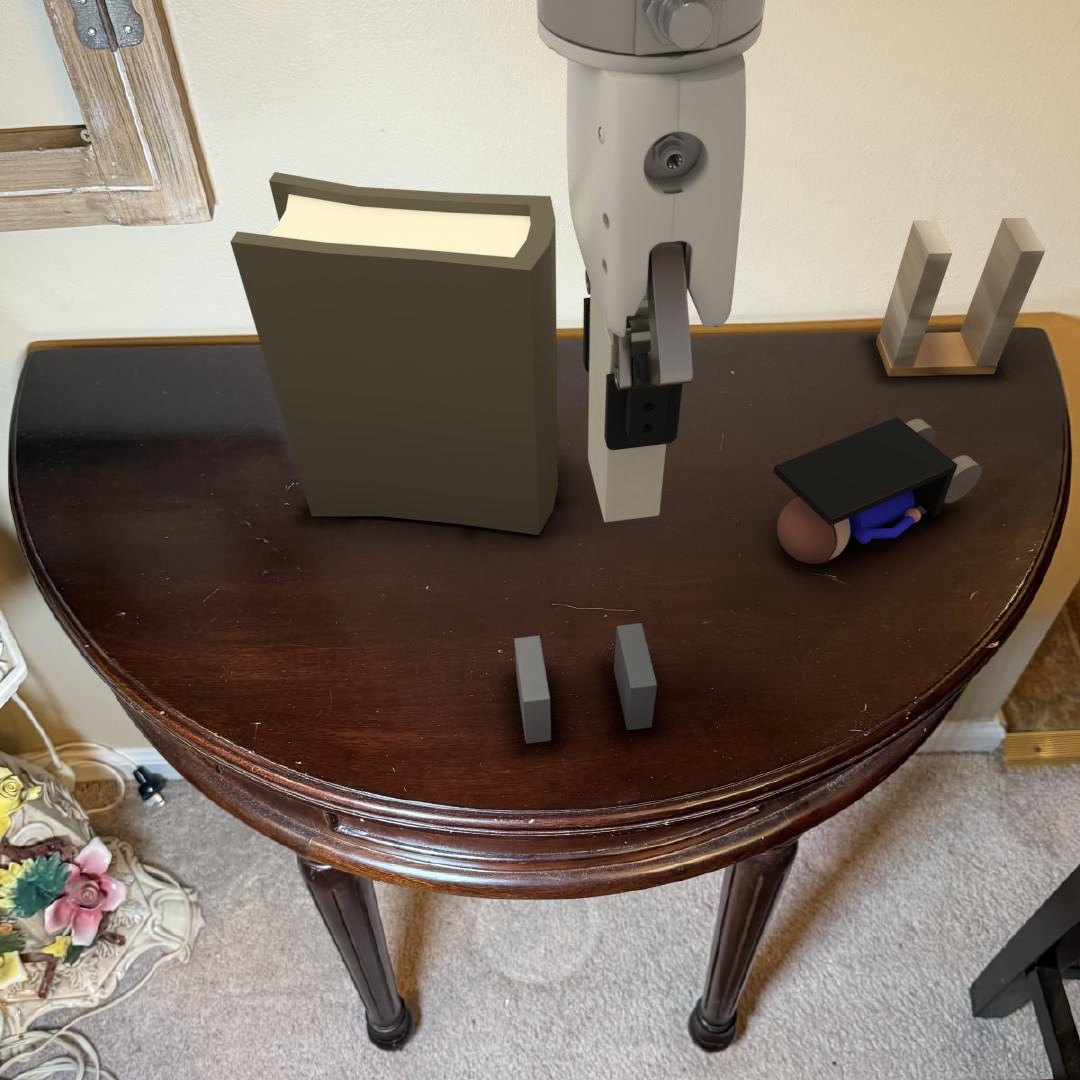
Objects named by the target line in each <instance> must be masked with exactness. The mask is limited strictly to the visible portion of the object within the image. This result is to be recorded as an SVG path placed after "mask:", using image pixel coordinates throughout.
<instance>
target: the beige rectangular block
mask: <svg viewBox="0 0 1080 1080" xmlns="http://www.w3.org/2000/svg"><path fill="white" fill-rule="evenodd" d="M589 297H590V356H589V372H588V423H587V424H588V428H587V429H588V431H587V433H588V434H587V437H588V438H587V460H588V464H589V469H590V472H591V476H592V480H593V484H594V487H595V492H596V495H597V499H598V503H599V507H600V511H601V514H602V515H601V516H602V519H603V522H604V523H610V522H612V523H613V522H618V521H620V522H621V521H625V520H626V521H627V520H634V519H641V518H643V519H644V518H650V517H657V516H660V513H661V503H662V492H663V483H664V482H663V481H664V472H665V462H666V461H665V460H666V453H667V452H666V451H667V444H662V445H653V446H645V447H637V448H629V449H621V450H610V449H608V448H607V446H606V442H605V438H604V432H605V400H606V374H612V373H614V347H613V332H612V331H611V330H609V329H608V328H607V327H606V326H605V324H604V322H603V319H602V317H601V314H600V311H599V308H598V305H597V302H596V299H595V296H594V293H593V290H592V287H591V288H590V295H589ZM640 307H648V300H643V301H642V303H641V305H640V306H639V308H640ZM631 334H632V357H633V356H635V355H636V354H637V353H644V352H650V350H651V335H650V331H648V332H640V333H631Z"/></svg>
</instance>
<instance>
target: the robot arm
mask: <svg viewBox="0 0 1080 1080" xmlns="http://www.w3.org/2000/svg"><path fill="white" fill-rule="evenodd" d="M765 6H766V0H536V23H537V24H536V26H537V34H538V36H539V39H540V40H541V42H543V43H544V45H545V46H546V47H547V48H548V49H549V50H551V51H554V52H555V53H556V54H557V55H558V56H561V57H563V58H564V59H566V60H567V61H566V62H567V63H566V65H567V66H566V166H567V167H566V169H567V186H568V188H567V190H568V200H569V209H570V217H571V221H572V226H573V229H574V233H575V237H576V241H577V244H578V247H579V251H580V255H581V258H582V260H583V264H584V267H585V272H584V273H585V274H584V276H585V277H584V278H585V279H584V280H585V286H586V292H587V295H589V297H583V314H582V315H583V316H582V317H583V321H582V323H583V324H582V326H583V328H582V330H583V331H582V337H583V338H582V344H583V345H582V354H583V355H582V362H583V366H584V369H585V371H586V372H587V373H589V356H590V288H591V287H592V290H593V293H594V296H595V299H596V302H597V305H598V308H599V311H600V314H601V317H602V319H603V322H604V324H605V326H606V327H607V328H608V329H609V330H611V331H612V332H613V347H614V373H612V374H606V400H605V432H604V438H605V442H606V446H607V448H608V449H610V450H621V449H629V448H637V447H645V446H653V445H662V444H666V445H669V444H671V443H673V442H675V441H676V439H677V437H678V431H679V430H678V429H679V421H680V412H681V404H682V403H681V402H682V393H683V385H684V384H691V383H692V382H693V377H694V376H693V375H694V369H693V355H692V342H691V329H690V318H689V317H690V315H689V301H688V293H689V296H690V298H691V300H692V303H693V305H694V308H695V310H696V312H697V315H698V317H699V320H700V322H701V325H702V327H703V328H709V327H714V328H719V327H723V326H724V325H725V323H726V322H727V321H728V319H729V317H730V315H731V311H732V306H733V297H734V289H735V279H736V270H737V259H738V249H739V248H738V247H739V239H740V238H739V237H740V227H741V226H740V225H741V214H742V203H743V190H744V189H743V188H744V176H745V160H746V159H745V158H746V137H747V135H746V133H747V130H746V128H747V81H746V80H747V79H746V77H747V76H746V62H745V57H744V53H745V52H747V51H749V49H751V48H752V47H753V46H754V45H755V44H756V43H757V41H758V39H759V38H760V36H761V33H762V29H763V28H762V27H763V20H764V13H765ZM643 300H648V307H640V308H639V306H640V305H641V303H642V301H643ZM648 331H650V335H651V350H650V352H644V353H637V354H636V355H635V356H633V357H632V334H631V333H640V332H648Z"/></svg>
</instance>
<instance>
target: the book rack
mask: <svg viewBox="0 0 1080 1080" xmlns="http://www.w3.org/2000/svg"><path fill="white" fill-rule="evenodd" d="M1045 253H1046V249H1045V247H1044V246H1043V244H1042V242H1041V241H1040V239H1039V238H1038V236H1037V234H1036V233H1035V231H1034V230H1033V228H1032V226H1031V224H1030V222H1028V220H1027V218H1026V217H1003V218H1002V219H1001V221H1000V224H999V227H998V230H997V232H996V235H995V238H994V240H993V243H992V245H991V248H990V251H989V253H988V256H987V259H986V262H985V264H984V267H983V270H982V272H981V274H980V277H979V280H978V282H977V285H976V288H975V290H974V294H973V296H972V299H971V302H970V304H969V307H968V310H967V312H966V315H965V317H964V320H963V323H962V326H961V328H960V331H955V332H954V331H951V332H950V331H949V332H947V331H946V332H926V331H927V328H928V325H929V323H930V320H931V317H932V314H933V310H934V308H935V305H936V302H937V299H938V296H939V293H940V290H941V287H942V284H943V281H944V279H945V276H946V273H947V270H948V267H949V264H950V261H951V258H952V255H953V251H952V249H951V247H950V244H949V243H948V241H947V239H946V237H945V235H944V233H943V232H942V230H941V227H940V225H939V223H938V222H937V220H936V219H922V220H920V219H919V220H918V219H917V220H913V221H912V223H911V227H910V230H909V233H908V237H907V241H906V243H905V247H904V251H903V253H902V257H901V259H900V260H901V261H900V264H899V267H898V270H897V273H896V276H895V281H894V283H893V287H892V290H891V294H890V297H889V300H888V303H887V307H886V311H885V313H884V317H883V321H882V324H881V327H880V330H879V333H878V334H877V337H876V341H875V345H876V347H877V350H878V353H879V356H880V358H881V361H882V364H883V367H884V370H885V372H886V375H887V377H889V378H890V377H891V378H892V377H925V376H927V377H929V376H930V377H931V376H932V377H933V376H965V375H968V376H969V375H994V374H996V371H997V369H998V367H999V365H998V363H999V361H1000V359H1001V356H1002V354H1003V352H1004V349H1005V348H1006V344H1007V343H1008V340H1009V337H1010V335H1011V333H1012V330H1013V328H1014V326H1015V325H1016V322H1017V319H1018V316H1019V314H1020V312H1021V310H1022V307H1023V306H1024V305H1023V304H1024V302H1025V300H1026V298H1027V295H1028V293H1029V290H1030V288H1031V286H1032V283H1033V281H1034V279H1035V276H1036V274H1037V271H1038V269H1039V267H1040V265H1041V262H1042V260H1043V258H1044V255H1045Z"/></svg>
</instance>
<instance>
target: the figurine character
mask: <svg viewBox="0 0 1080 1080" xmlns="http://www.w3.org/2000/svg"><path fill="white" fill-rule="evenodd" d="M936 436H937V431H936V429H935V428H934V427H933V426H931V425H930V424H929V423H927V422H926V421H924V420H923V419H921V418H914V419H911V420H909V421H907V422H904V421H903V420H902V419H900V418H899V417H898V416H895V417H893V418H891V419H887V420H885V421H883V422H881V423H877V424H876V425H873V426H871V427H868V428H865V429H863V430H861V431H858V432H856V433H854V434H851V435H848V436H846V437H843V438H841V439H838V440H837V441H833V442H830V443H829V444H826V445H823V446H821V447H819V448H816V449H813V450H811V451H809V452H806V453H804V454H801V455H798V456H795V457H794V458H791V459H789V460H786V461H784V462H781V463H779V464H776V465H774V468H773V474H774V475H775V476H776V477H777V478H778V479H779V480H781V481H782V483H784V484H785V485H786V486H787V487H788V488H789V489H790V490H791V491H792V492H793V493H794V494H795V495H797V497H795V498H793V499H792V500H790V501H789V502H788V503H787V504H786V505H785V506H784V508H783V509H782V510H781V512H780V514H779V516H778V519H777V523H776V531H777V537H778V541H779V542H780V545H781V547H782V548H783V549H784V551H785V552H786V553H787V554H788V555H789V556H791V557H792V558H793V559H795V560H797V561H799V562H801V563H805V564H811V565H818V564H824V563H827V562H830V561H832V560H833V559H835V558H837V557H838V556H839V555H840V554H841V553H842V552H843V551H844V550H845V548H846V546H847V545H848V543H849V540H850V539H854V538H855V539H856V541H857V542H858V543H859V544H862V545H866V544H869V543H870V541H871V540H878V539H879V540H880V539H897V538H898V537H899V536H900V535H901V534H902V533H904V532H905V531H906V530H907V529H908V528H910V527H911V526H912V525H913V524H914V523H915V524H916V523H918V522H919V521H920V520H921V517H922V515H925V514H927V513H928V514H929V515H931V517H936V516H938V515H940V514H941V512H942V508H943V506H944V503H945V504H952V503H955V502H957V501H959V500H960V499H962V498H963V497H964V496H966V495H967V494H968V493H969V492H970V491H971V490H972V489H973V488H974V487H975V486H976V485H977V483H978V482H979V480H980V479H981V476H982V474H983V467H982V466H981V464H979V463H977V461H975V460H974V459H972V458H971V457H970V456H968V455H965V454H963V455H959V456H957V457H955V458H953V459H951V458H950V457H949V456H947V455H946V454H945V453H944V452H942V451H941V450H940V449H939V448H938V447H936V446H935V445H933V443H934V442H935V439H936ZM915 503H916V504H918V505H919V506H918V507H915ZM899 519H900V521H899V522H898V523H897V524H896V525H894V526H893V527H887V528H885V527H882V526H885V525H887V524H890V523H891V522H894V521H896V520H899ZM881 527H882V528H881Z"/></svg>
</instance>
